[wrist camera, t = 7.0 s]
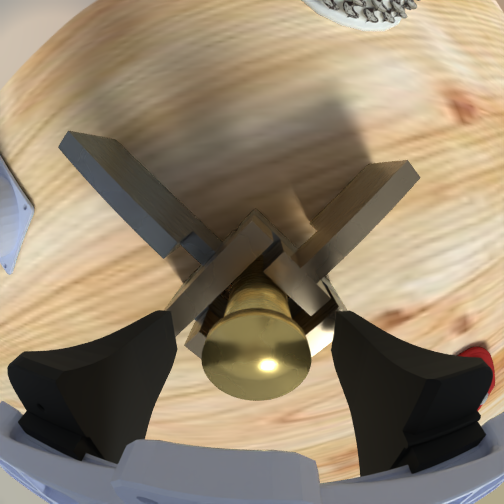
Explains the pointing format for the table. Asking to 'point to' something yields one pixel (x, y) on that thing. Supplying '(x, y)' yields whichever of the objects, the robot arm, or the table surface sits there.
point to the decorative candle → (363, 12)
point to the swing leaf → (297, 257)
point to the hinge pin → (256, 341)
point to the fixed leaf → (153, 206)
